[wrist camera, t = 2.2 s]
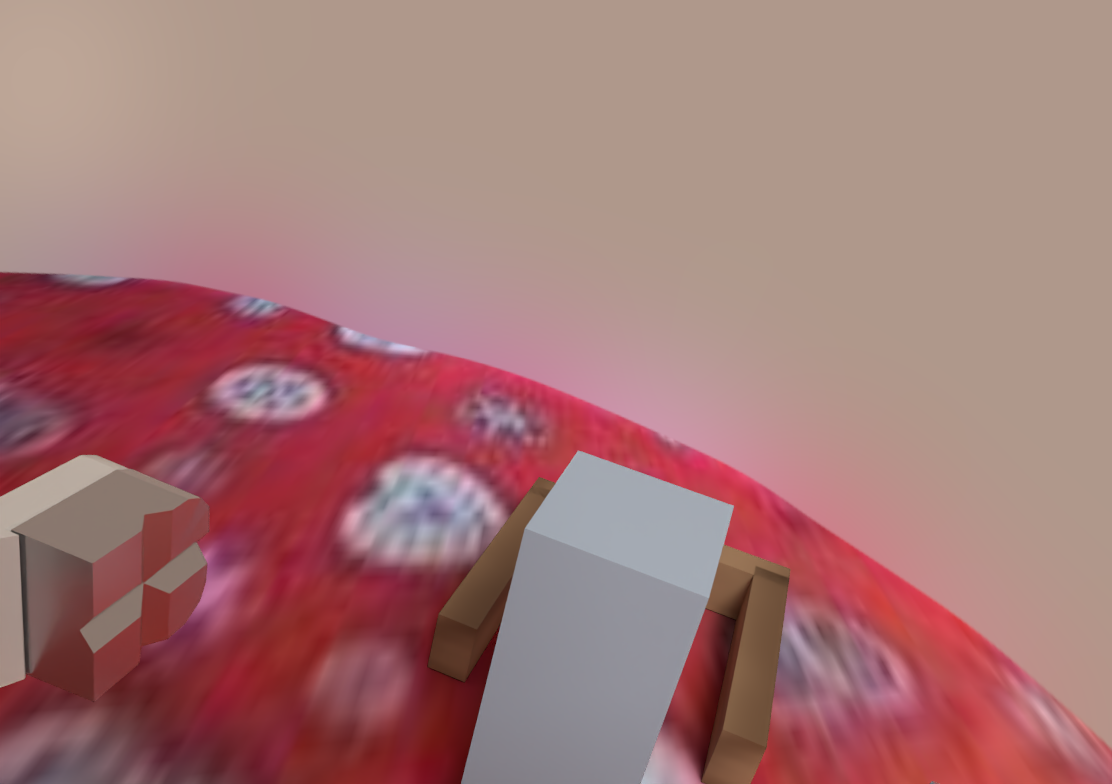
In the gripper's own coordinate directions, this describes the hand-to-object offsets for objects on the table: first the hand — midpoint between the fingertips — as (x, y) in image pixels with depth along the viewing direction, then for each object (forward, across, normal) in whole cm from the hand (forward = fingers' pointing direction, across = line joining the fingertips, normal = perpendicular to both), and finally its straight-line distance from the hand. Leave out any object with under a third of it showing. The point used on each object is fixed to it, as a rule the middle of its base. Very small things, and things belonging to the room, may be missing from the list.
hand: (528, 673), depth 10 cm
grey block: (+12, 0, +17) cm, 21 cm away
